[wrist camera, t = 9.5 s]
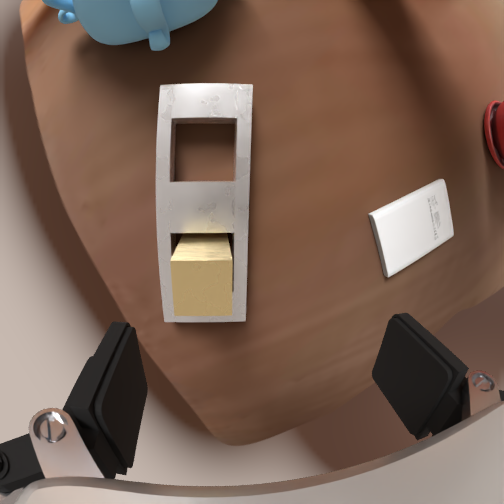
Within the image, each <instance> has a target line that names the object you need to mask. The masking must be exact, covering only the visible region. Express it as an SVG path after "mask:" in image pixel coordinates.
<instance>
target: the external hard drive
mask: <svg viewBox="0 0 504 504" xmlns="http://www.w3.org/2000/svg"><path fill="white" fill-rule="evenodd" d="M369 218H370V221H371V225H372V228H373V232H374V236H375V240H376V243H377V247H378V251H379V255H380V259H381V264H382V268H383V273H384V276H386V277H390V276H392V275H393V274H395V273H397V272H398V271H400V270H402V269H403V268H405V267H407V266H408V265H410V264H411V263H413V262H415V261H416V260H418V259H419V258H421V257H422V256H424V255H426V254H427V253H429V252H430V251H432V250H433V249H435V248H436V247H438V246H439V245H441V244H442V243H444V242H445V241H447V240H448V239H450V238H451V237H453V235H454V232H453V224H452V218H451V211H450V205H449V199H448V194H447V189H446V184H445V181H444V180H443V179H438V180H436V181H434V182H432V183H430V184H428V185H426V186H424V187H422V188H420V189H418V190H416V191H414V192H412V193H410V194H408V195H406V196H404V197H402V198H400V199H398V200H396V201H394V202H392V203H390V204H388V205H386V206H384V207H382V208H380V209H378V210H376V211H373V212H371V213H369Z"/></svg>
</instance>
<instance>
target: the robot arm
mask: <svg viewBox="0 0 504 504" xmlns="http://www.w3.org/2000/svg"><path fill="white" fill-rule="evenodd" d="M468 369H469V368H468V367H467V366H466V365H465V364H464V363H463V362H462V361H461V360H460V359H458V358H457V357H456V356H455V355H454V354H453V353H452V352H451V351H450V350H449V349H448V348H446V347H445V346H444V345H443V344H442V343H441V342H440V341H439V340H438V339H437V338H436V337H434V336H433V335H432V334H431V333H430V332H429V331H428V330H427V329H425V328H424V327H423V326H422V325H421V324H420V323H419V322H417V321H416V320H415V319H414V318H413V317H412V316H410V315H409V314H408V313H401V314H395V315H393V316H392V318H391V319H390V320H389V322H388V325H387V328H386V332H385V335H384V338H383V341H382V344H381V348H380V351H379V354H378V356H377V359H376V362H375V365H374V368H373V371H372V377H373V379H374V381H375V382H376V383H377V385H378V387H379V388H380V390H381V391H382V392H383V394H384V395H385V397H386V398H387V400H388V401H389V403H390V404H391V406H392V407H393V408H394V410H395V412H396V413H397V414H398V416H399V417H400V419H401V420H402V422H403V423H404V425H405V426H406V428H407V429H408V431H409V432H410V433H411V434H413V435H414V436H415V437H416V439H417V440H419V439H421V438H424V437H426V436H428V434H429V433H430V431H431V433H432V434H433V435H432V437H430V438H428V439H426V440H424V441H421V442H419V443H417V444H415V445H412V446H410V447H408V448H405V449H402V450H400V451H397V452H395V453H392V454H389V455H387V456H384V457H381V458H378V459H375V460H372V461H369V462H366V463H363V464H360V465H356V466H353V467H349V468H345V469H342V470H338V471H334V472H329V473H326V474H321V475H316V476H311V477H306V478H300V479H294V480H288V481H281V482H274V483H265V484H254V485H241V486H174V485H161V484H151V483H142V482H132V481H124V480H116V479H115V476H116V473H117V474H122V475H126V473H127V467H128V468H132V466H133V462H134V456H135V450H136V445H137V440H138V435H139V430H140V425H141V419H142V415H143V410H144V406H145V401H146V397H147V382H146V378H145V373H144V369H143V365H142V360H141V355H140V350H139V345H138V340H137V335H136V330H135V328H134V327H131V326H130V324H129V323H127V322H112V323H111V325H110V327H109V329H108V331H107V332H106V334H105V336H104V338H103V339H102V341H101V343H100V345H99V347H98V349H97V350H96V352H95V354H94V356H92V357H90V358H89V359H88V361H87V362H86V364H85V366H84V368H83V370H82V372H81V374H80V376H79V377H78V379H77V381H76V383H75V385H74V387H73V389H72V391H71V393H70V396H69V397H68V399H67V401H66V403H65V406H64V408H63V410H60V409H58V408H48V409H43V410H41V411H39V412H38V413H36V414H35V415H34V416H33V417H32V419H31V421H30V424H29V434H26V435H24V436H21V437H18V438H15V439H12V440H10V441H7V442H4V443H1V444H0V504H504V391H502V390H499V389H498V384H497V382H496V380H495V379H494V377H493V376H491V375H490V374H488V373H486V372H484V371H478V370H477V371H473V372H471V373H470V374H469V376H468V378H466V377H465V374H466V373H467V370H468Z"/></svg>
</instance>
